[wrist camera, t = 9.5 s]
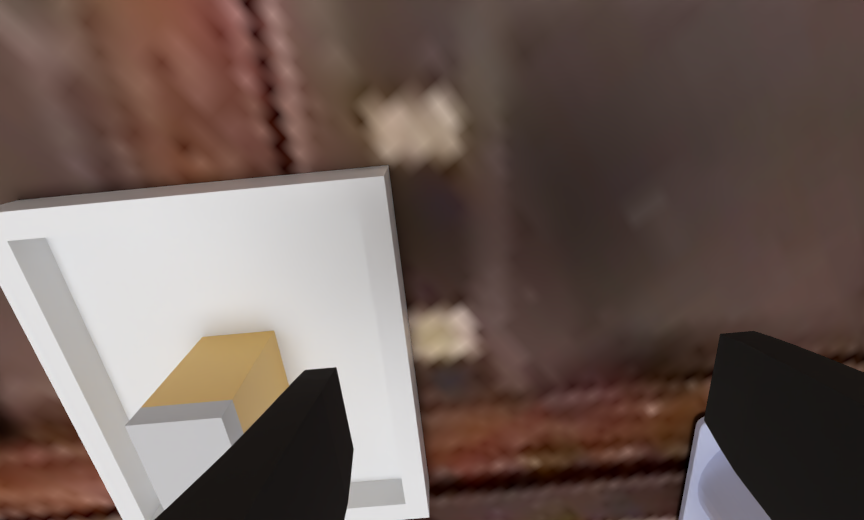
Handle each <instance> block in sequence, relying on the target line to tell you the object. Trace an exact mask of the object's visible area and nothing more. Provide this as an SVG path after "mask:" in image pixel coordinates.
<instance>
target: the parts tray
mask: <svg viewBox="0 0 864 520" xmlns="http://www.w3.org/2000/svg"><path fill="white" fill-rule="evenodd" d="M0 286H1V288H2V290H3V292H4V294H5V295H6V297H7V299H8V301H9V303H10V305H11V307H12V309H13V311H14V313H15V315H16V316H17V318H18V320H19V322H20V324H21V326H22V328H23V330H24V332H25V334H26V336H27V338H28V339H29V341H30V343H31V345H32V347H33V349H34V351H35V353H36V355H37V357H38V359H39V360H40V362H41V364H42V366H43V368H44V370H45V372H46V374H47V376H48V378H49V380H50V381H51V383H52V385H53V387H54V389H55V391H56V393H57V395H58V397H59V399H60V401H61V402H62V404H63V406H64V408H65V410H66V412H67V414H68V416H69V418H70V420H71V422H72V423H73V425H74V427H75V429H76V431H77V433H78V435H79V437H80V439H81V441H82V443H83V444H84V446H85V448H86V450H87V452H88V454H89V456H90V458H91V460H92V462H93V464H94V465H95V467H96V469H97V471H98V473H99V475H100V477H101V479H102V481H103V483H104V485H105V486H106V488H107V490H108V492H109V494H110V496H111V498H112V500H113V502H114V504H115V506H116V507H117V509H118V511H119V513H120V515H121V517H122V519H123V520H154V519H155V518H156V517H158V516H159V515H160V514H161V513H162V512H163V511H164V509H163V507H162V505H161V503H160V500H159V498H158V496H157V494H156V492H155V490H154V488H153V485H152V483H151V481H150V479H149V477H148V475H147V473H146V470H145V468H144V466H143V464H142V462H141V460H140V458H139V455H138V453H137V451H136V449H135V447H134V445H133V443H132V441H131V438H130V436H129V434H128V432H127V430H126V428H125V425H126V424H127V423H128V422H129V420H130V419H131V418H132V417H133V416H134V415H135V414H136V412H137V411H138V410H139V409H140V408H141V407H142V406H143V404H144V403H145V402H146V401H147V400H148V399H149V397H150V396H151V395H152V394H153V393H154V392H155V391H156V389H157V388H158V387H159V386H160V385H161V384H162V383H163V381H164V380H165V379H166V378H167V377H168V376H169V375H170V373H171V372H172V371H173V370H174V369H175V368H176V367H177V365H178V364H179V363H180V362H181V361H182V360H183V359H184V357H185V356H186V355H187V354H188V353H189V352H190V351H191V349H192V348H193V347H194V346H195V345H196V344H197V342H198V341H199V340H200V339H201V338H202V337H207V336H218V335H229V334H240V333H252V332H263V331H274V332H275V335H276V339H277V343H278V347H279V350H280V354H281V358H282V361H283V365H284V369H285V373H286V376H287V380H288V384H289V385H290V384H291V383H292V382H293V381H294V380H295V379H296V378H297V377H298V376H299V375H300V374H301V373H302V372H303V371H304V370H309V369H321V368H333V367H336V368H337V372H338V377H339V382H340V386H341V391H342V396H343V401H344V405H345V410H346V415H347V420H348V424H349V429H350V434H351V439H352V443H353V448H354V452H353V462H352V472H351V481H350V490H349V498H348V505H347V510H346V515H345V520H403V519H416V518H428V517H429V477H428V470H427V462H426V454H425V446H424V438H423V431H422V423H421V415H420V407H419V399H418V392H417V384H416V376H415V368H414V360H413V353H412V345H411V337H410V329H409V321H408V313H407V306H406V298H405V290H404V282H403V274H402V267H401V259H400V251H399V243H398V235H397V228H396V220H395V212H394V204H393V196H392V189H391V181H390V173H389V165H384V166H374V167H363V168H353V169H342V170H331V171H321V172H310V173H300V174H289V175H279V176H268V177H258V178H247V179H236V180H226V181H215V182H205V183H194V184H184V185H173V186H163V187H152V188H141V189H131V190H120V191H110V192H99V193H89V194H78V195H68V196H57V197H47V198H36V199H25V200H16V201H12V202H9V203H5V204H2V205H0Z"/></svg>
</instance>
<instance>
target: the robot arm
mask: <svg viewBox="0 0 864 520" xmlns="http://www.w3.org/2000/svg"><path fill="white" fill-rule="evenodd" d="M353 452H354V448H353V443H352V439H351V434H350V429H349V424H348V420H347V415H346V410H345V405H344V401H343V396H342V391H341V386H340V382H339V377H338V372H337V368H336V367H333V368H321V369H309V370H304V371H303V372H302V373H301V374H300V375H299V376H298V377H297V378H296V379H295V380H294V381H293V382H292V383H291V384H290V385H289V386H288V388H287V389H286V390H285V391H284V392H283V393H282V394H281V395H280V396H279V397H278V398H277V399H276V400H275V401H274V402H273V404H272V405H271V406H270V407H269V408H268V409H267V410H266V411H265V412H264V413H263V414H262V415H261V416H260V417H259V418H258V419H257V420H256V421H255V422H254V423H253V424H252V426H251V427H250V428H249V429H248V430H247V431H246V432H245V433H244V434H243V435H242V436H241V437H240V438H239V439H238V440H237V441H236V442H235V443H234V444H233V445H232V446H231V447H230V448H229V449H228V450H227V451H226V452H225V453H224V454H223V455H222V456H221V457H220V458H219V459H218V460H217V461H216V462H215V463H214V464H213V465H212V466H211V467H210V468H209V469H208V470H206V471H205V472H204V473H203V474H202V475H201V476H200V477H199V478H198V479H197V480H196V481H195V482H194V483H193V484H192V485H191V486H190V487H189V488H188V489H187V490H185V491H184V492H183V493H182V494H181V495H180V496H179V497H178V498H177V499H176V500H175V501H174V502H173V503H172V504H171V505H170V506H169V507H168V508H167V509H165V510H164V511H163V512H162V513H161V514H160V515H159V516H158V517H156V518H155V519H154V520H345V515H346V510H347V505H348V498H349V490H350V481H351V472H352V462H353ZM679 520H864V372H861V371H859V370H856V369H854V368H851V367H849V366H846V365H844V364H841V363H839V362H836V361H834V360H831V359H829V358H826V357H824V356H821V355H819V354H816V353H814V352H811V351H808V350H806V349H803V348H801V347H798V346H795V345H793V344H790V343H787V342H785V341H782V340H779V339H776V338H773V337H771V336H768V335H764V334H761V333H758V332H755V331H749V332H738V333H726V334H720V338H719V343H718V349H717V354H716V359H715V364H714V370H713V375H712V380H711V385H710V391H709V396H708V401H707V406H706V411H705V417H702V418H701V419H699V420H698V421H697V424H696V427H695V433H694V438H693V444H692V449H691V455H690V460H689V466H688V471H687V476H686V482H685V487H684V493H683V498H682V504H681V509H680V515H679Z"/></svg>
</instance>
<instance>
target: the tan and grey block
mask: <svg viewBox="0 0 864 520" xmlns="http://www.w3.org/2000/svg"><path fill="white" fill-rule="evenodd" d="M288 386H289V384H288V380H287V376H286V373H285V369H284V365H283V361H282V358H281V354H280V350H279V347H278V343H277V339H276V335H275V332H274V331H263V332H252V333H240V334H229V335H218V336H207V337H202V338H201V339H200V340H199V341H198V342H197V344H196V345H195V346H194V347H193V348H192V349H191V351H190V352H189V353H188V354H187V355H186V356H185V357H184V359H183V360H182V361H181V362H180V363H179V364H178V365H177V367H176V368H175V369H174V370H173V371H172V372H171V373H170V375H169V376H168V377H167V378H166V379H165V380H164V381H163V383H162V384H161V385H160V386H159V387H158V388H157V389H156V391H155V392H154V393H153V394H152V395H151V396H150V397H149V399H148V400H147V401H146V402H145V403H144V404H143V406H142V407H141V408H140V409H139V410H138V411H137V412H136V414H135V415H134V416H133V417H132V418H131V419H130V420H129V422H128V423H127V424H126V425H125V428H126V430H127V432H128V434H129V436H130V438H131V441H132V443H133V445H134V447H135V449H136V451H137V453H138V455H139V458H140V460H141V462H142V464H143V466H144V468H145V470H146V473H147V475H148V477H149V479H150V481H151V483H152V485H153V488H154V490H155V492H156V494H157V496H158V498H159V500H160V503H161V505H162V507H163V509H164V510H165V509H167V508H168V507H169V506H170V505H171V504H172V503H173V502H174V501H175V500H176V499H177V498H178V497H179V496H180V495H181V494H182V493H183V492H184V491H185V490H187V489H188V488H189V487H190V486H191V485H192V484H193V483H194V482H195V481H196V480H197V479H198V478H199V477H200V476H201V475H202V474H203V473H204V472H205V471H206V470H208V469H209V468H210V467H211V466H212V465H213V464H214V463H215V462H216V461H217V460H218V459H219V458H220V457H221V456H222V455H223V454H224V453H225V452H226V451H227V450H228V449H229V448H230V447H231V446H232V445H233V444H234V443H235V442H236V441H237V440H238V439H239V438H240V437H241V436H242V435H243V434H244V433H245V432H246V431H247V430H248V429H249V428H250V427H251V426H252V424H253V423H254V422H255V421H256V420H257V419H258V418H259V417H260V416H261V415H262V414H263V413H264V412H265V411H266V410H267V409H268V408H269V407H270V406H271V405H272V404H273V402H274V401H275V400H276V399H277V398H278V397H279V396H280V395H281V394H282V393H283V392H284V391H285V390H286V389H287V388H288Z"/></svg>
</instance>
